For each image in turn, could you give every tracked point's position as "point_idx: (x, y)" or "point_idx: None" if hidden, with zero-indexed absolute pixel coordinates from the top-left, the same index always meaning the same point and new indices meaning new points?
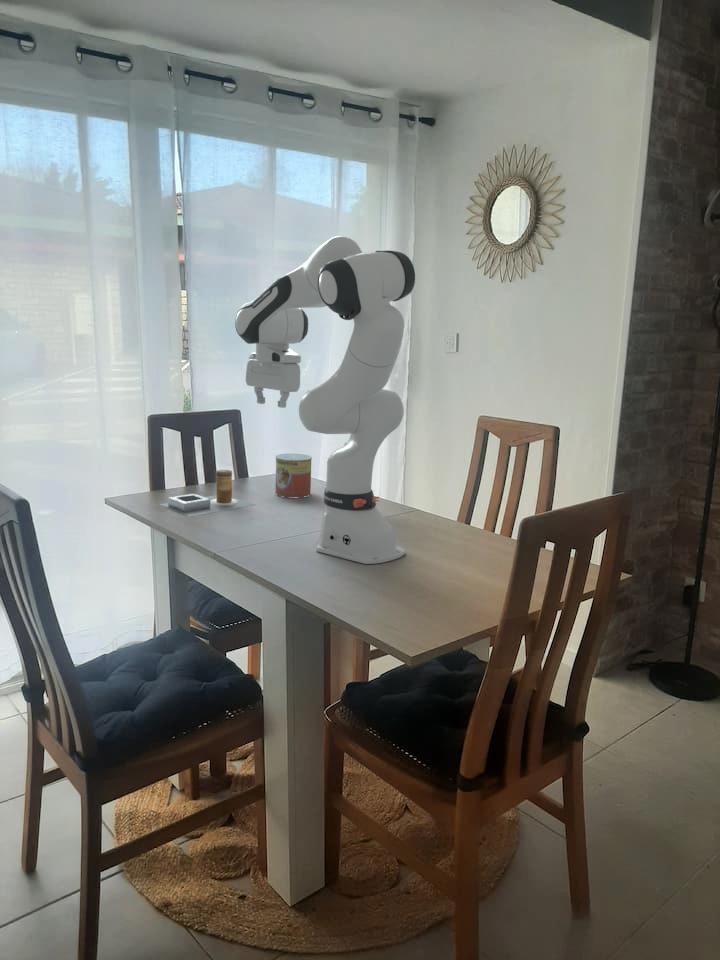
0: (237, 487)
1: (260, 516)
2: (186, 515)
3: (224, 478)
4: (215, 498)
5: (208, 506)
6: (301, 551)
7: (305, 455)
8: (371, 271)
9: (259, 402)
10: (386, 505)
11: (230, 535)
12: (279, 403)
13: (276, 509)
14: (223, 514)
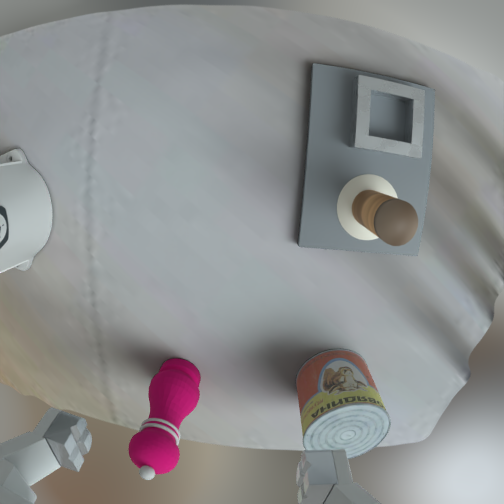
0: (444, 327)
1: (239, 208)
2: (325, 65)
3: (376, 206)
4: None
5: (350, 142)
6: (32, 128)
7: None
8: None
9: (311, 453)
10: None
11: (166, 70)
12: (51, 425)
13: (262, 276)
14: None
